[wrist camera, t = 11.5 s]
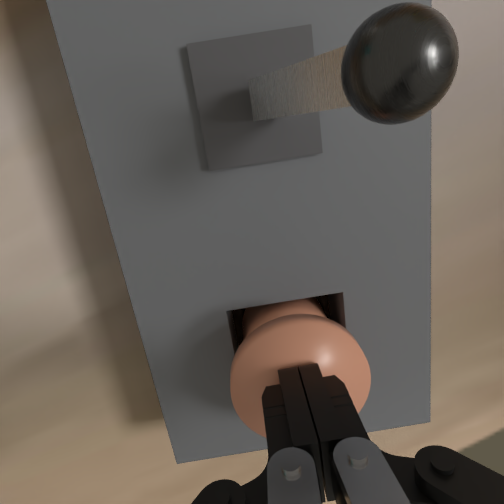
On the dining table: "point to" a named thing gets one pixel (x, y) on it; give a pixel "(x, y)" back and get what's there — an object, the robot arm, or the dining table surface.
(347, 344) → the button
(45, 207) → the dining table surface
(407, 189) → the panel
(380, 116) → the toggle
